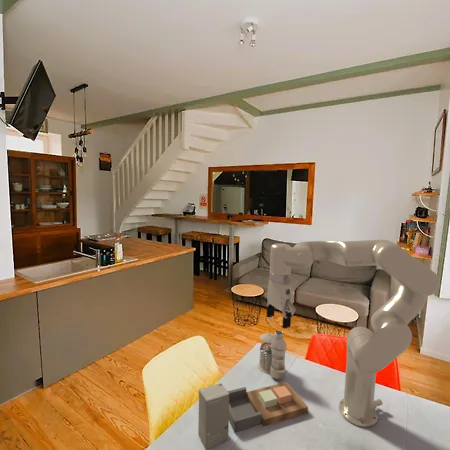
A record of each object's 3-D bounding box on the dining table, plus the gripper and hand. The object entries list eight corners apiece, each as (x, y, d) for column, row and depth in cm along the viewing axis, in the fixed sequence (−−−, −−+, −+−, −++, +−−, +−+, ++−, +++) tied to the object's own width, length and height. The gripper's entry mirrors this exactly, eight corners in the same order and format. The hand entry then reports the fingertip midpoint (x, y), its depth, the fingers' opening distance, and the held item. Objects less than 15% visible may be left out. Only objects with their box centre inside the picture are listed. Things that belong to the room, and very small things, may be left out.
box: (244, 396, 109) (245, 386, 109) (261, 424, 96) (262, 413, 96) (220, 402, 106) (220, 392, 105) (234, 432, 93) (234, 421, 92)
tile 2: (284, 391, 108) (284, 385, 108) (291, 400, 104) (291, 394, 103) (272, 394, 107) (272, 388, 106) (279, 404, 102) (279, 397, 102)
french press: (281, 363, 130) (283, 311, 127) (275, 378, 120) (277, 322, 117) (260, 358, 134) (262, 308, 131) (253, 372, 124) (254, 318, 121)
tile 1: (270, 395, 106) (270, 389, 106) (277, 404, 102) (277, 398, 101) (258, 398, 105) (258, 392, 104) (264, 408, 100) (265, 401, 100)
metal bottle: (281, 384, 116) (283, 338, 114) (266, 377, 120) (268, 333, 118) (288, 376, 121) (289, 332, 119) (273, 370, 125) (275, 327, 123)
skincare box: (205, 450, 86) (206, 403, 84) (197, 433, 92) (197, 388, 90) (230, 440, 90) (230, 394, 88) (220, 423, 96) (220, 380, 94)
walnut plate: (286, 387, 114) (286, 381, 114) (307, 413, 101) (308, 406, 101) (245, 398, 108) (246, 392, 108) (263, 426, 95) (263, 420, 95)
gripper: (304, 283, 97) (301, 330, 99) (274, 270, 113) (272, 311, 115) (287, 286, 94) (284, 334, 96) (258, 272, 109) (256, 314, 111)
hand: (278, 321), depth 105 cm, fingers open, 9 cm apart
